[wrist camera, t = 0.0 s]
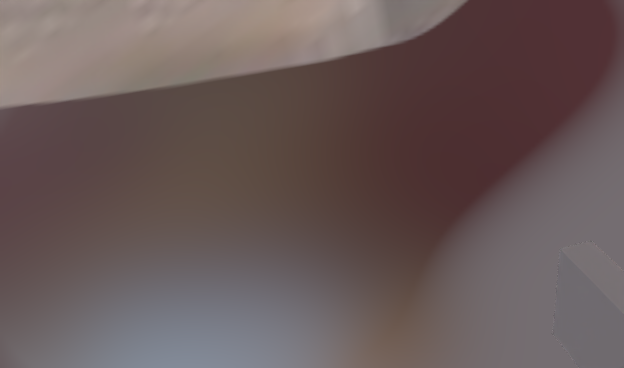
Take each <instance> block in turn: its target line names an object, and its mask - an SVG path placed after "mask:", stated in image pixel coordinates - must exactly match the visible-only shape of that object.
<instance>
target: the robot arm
mask: <svg viewBox="0 0 624 368" xmlns="http://www.w3.org/2000/svg"><path fill="white" fill-rule="evenodd" d="M555 300H556V301H555V311H554V312H555V313H554V323H553V335H554V336H555V338H556V339H557V340H558V341H559V343H560V344H561V345H562V347H563V348H564V349H565V350H566V352H567V353H568V354H569V356H570V357H571V358H572V359H573V361H574V362H575V363H576V365H577V366H578V367H579V368H624V271H623V270H622V269H621V268H620V267H619V266H618V265H617V264H616V263H615V262H614V261H613V260H612V259H610V258H609V257H608V256H607V255H606V254H605V253H604V252H603V251H602V250H601V249H600V248H598V247H597V246H596V245H595V244H594V243H593V242H592V241H588V242H584V243H580V244H576V245H572V246H568V247H565V248H560V252H559V264H558V276H557V288H556V299H555Z"/></svg>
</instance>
